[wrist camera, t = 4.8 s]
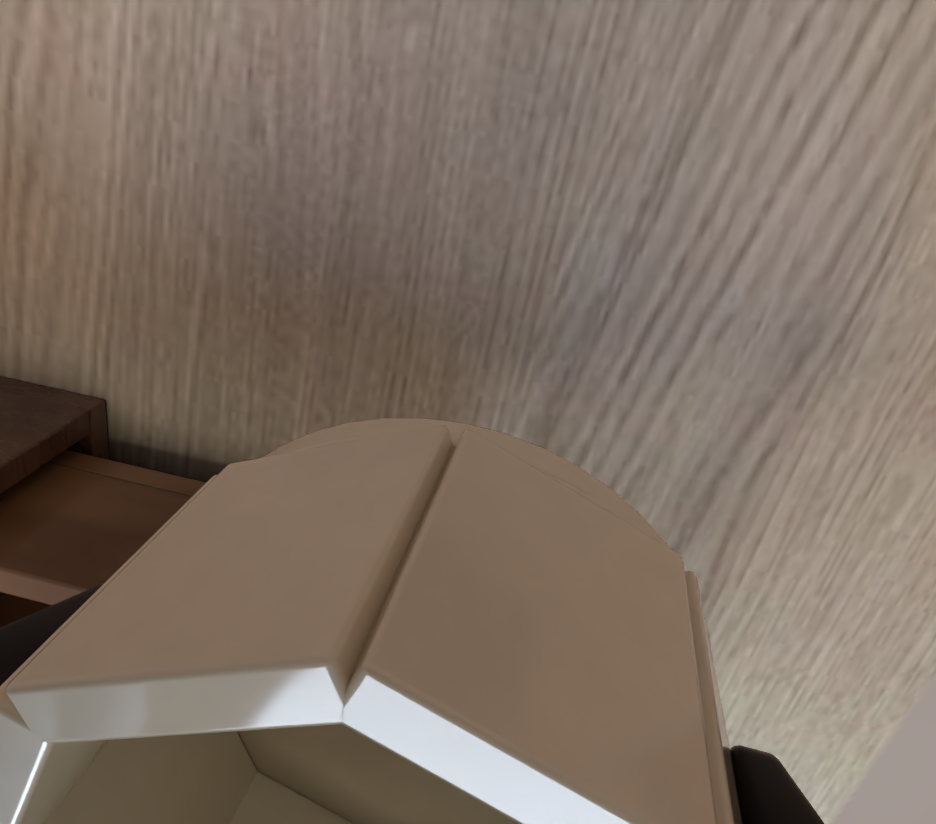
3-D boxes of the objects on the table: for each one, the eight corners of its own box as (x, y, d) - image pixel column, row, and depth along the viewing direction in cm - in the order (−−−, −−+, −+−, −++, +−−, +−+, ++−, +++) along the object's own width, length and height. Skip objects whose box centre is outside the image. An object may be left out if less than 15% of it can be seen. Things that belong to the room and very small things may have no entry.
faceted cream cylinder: (839, 619, 7) (1002, 1027, 4) (525, 903, 10) (481, 1284, 7) (307, 301, 7) (49, 487, 4) (129, 683, 10) (-110, 978, 6)
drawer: (723, 574, 21) (758, 743, 15) (619, 856, 26) (619, 1051, 21) (-40, 399, 23) (-231, 494, 18) (9, 690, 28) (-127, 828, 23)
